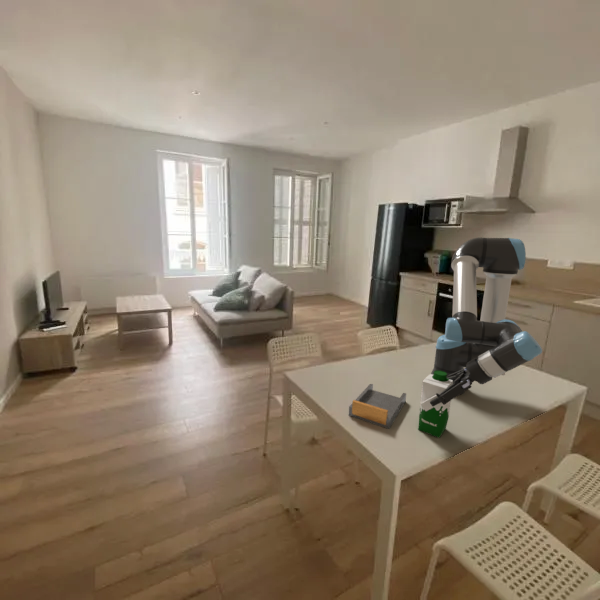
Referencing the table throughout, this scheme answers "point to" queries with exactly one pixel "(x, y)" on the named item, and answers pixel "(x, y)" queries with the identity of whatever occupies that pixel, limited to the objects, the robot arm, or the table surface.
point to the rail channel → (377, 407)
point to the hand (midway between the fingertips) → (427, 399)
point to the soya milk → (438, 415)
